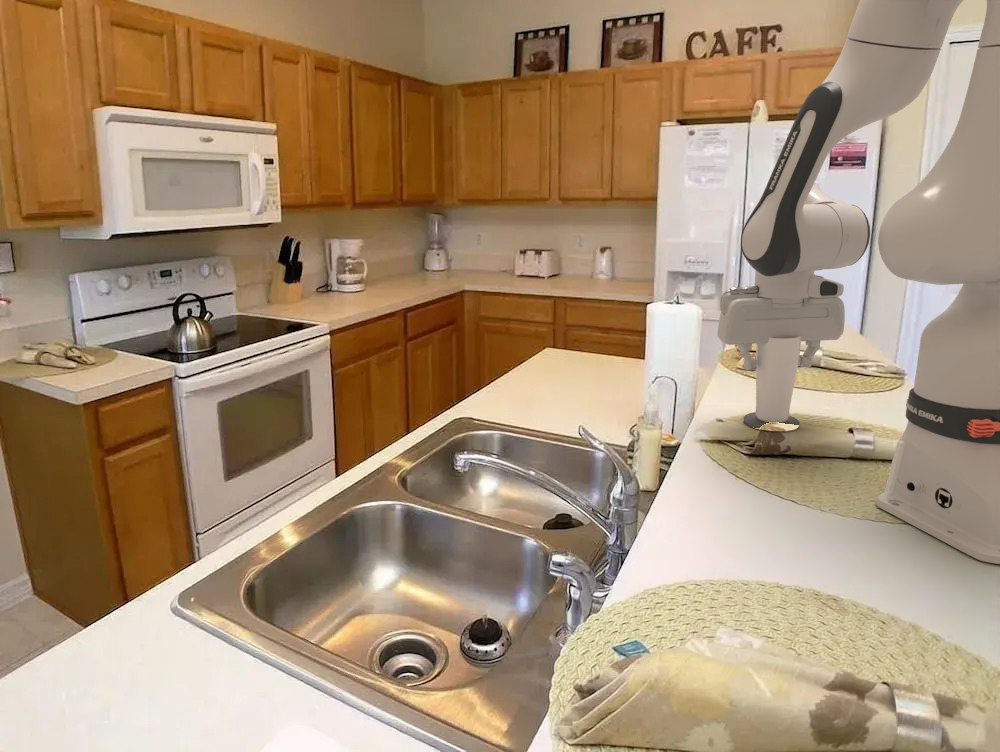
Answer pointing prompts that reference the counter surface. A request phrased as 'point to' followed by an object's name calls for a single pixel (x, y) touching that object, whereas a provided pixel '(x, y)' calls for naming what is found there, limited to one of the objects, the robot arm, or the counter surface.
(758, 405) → the drinking glass
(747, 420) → the coaster
